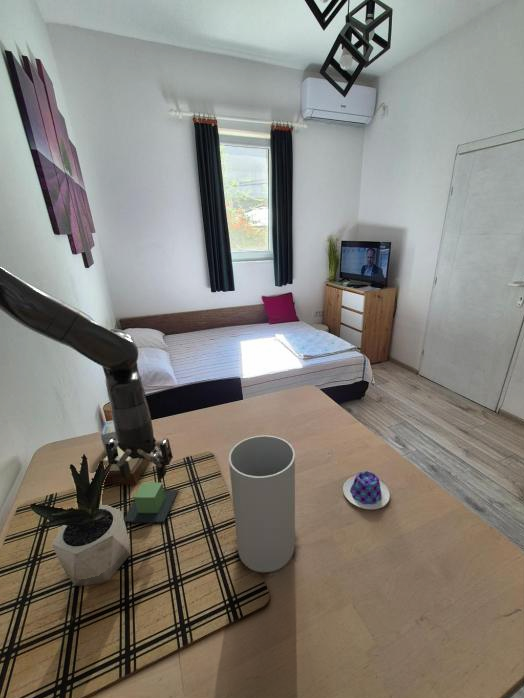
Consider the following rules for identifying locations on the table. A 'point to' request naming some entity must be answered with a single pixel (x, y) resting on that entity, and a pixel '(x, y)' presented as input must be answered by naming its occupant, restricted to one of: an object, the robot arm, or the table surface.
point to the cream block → (129, 459)
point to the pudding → (366, 491)
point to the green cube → (149, 497)
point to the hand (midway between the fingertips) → (144, 476)
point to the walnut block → (133, 478)
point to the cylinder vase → (264, 501)
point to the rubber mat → (152, 517)
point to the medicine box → (108, 432)
